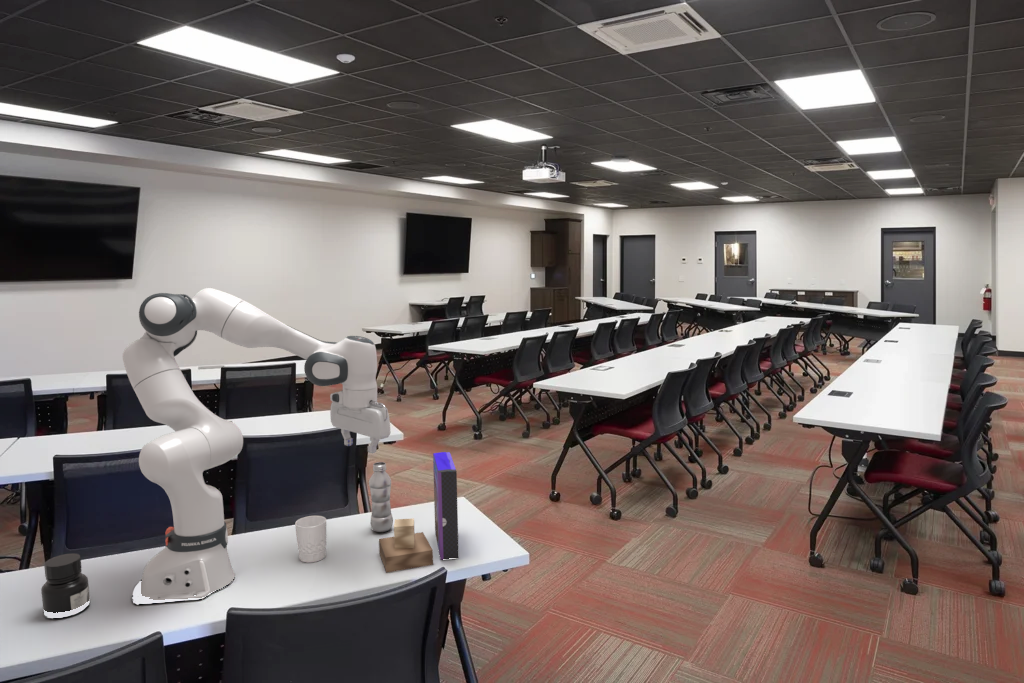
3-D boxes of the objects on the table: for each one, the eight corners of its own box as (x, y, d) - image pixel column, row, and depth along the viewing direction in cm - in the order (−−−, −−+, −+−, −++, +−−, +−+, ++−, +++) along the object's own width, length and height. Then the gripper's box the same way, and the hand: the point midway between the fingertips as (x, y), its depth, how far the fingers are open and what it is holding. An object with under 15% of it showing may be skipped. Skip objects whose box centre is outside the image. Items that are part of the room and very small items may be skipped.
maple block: (394, 549, 171) (393, 526, 170) (395, 541, 176) (394, 519, 175) (414, 547, 172) (413, 525, 171) (414, 539, 177) (414, 518, 176)
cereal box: (435, 533, 190) (432, 452, 187) (451, 532, 191) (449, 451, 188) (440, 560, 173) (438, 471, 170) (458, 558, 174) (456, 470, 171)
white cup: (322, 548, 182) (321, 513, 180) (332, 558, 175) (330, 522, 174) (293, 555, 177) (291, 519, 176) (301, 566, 171) (299, 529, 170)
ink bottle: (86, 616, 148) (81, 565, 147) (38, 625, 145) (33, 573, 143) (94, 596, 157) (89, 547, 155) (49, 604, 153) (44, 554, 152)
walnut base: (386, 572, 167) (385, 557, 166) (379, 553, 178) (378, 538, 178) (433, 564, 171) (432, 550, 170) (423, 546, 182) (422, 532, 182)
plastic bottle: (396, 526, 196) (393, 460, 194) (389, 535, 189) (387, 467, 187) (374, 525, 197) (372, 460, 194) (367, 534, 190) (364, 467, 188)
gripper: (396, 402, 170) (395, 454, 172) (345, 390, 182) (345, 438, 184) (377, 406, 165) (377, 459, 167) (326, 393, 177) (326, 443, 179)
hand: (360, 448), depth 176 cm, fingers open, 8 cm apart
